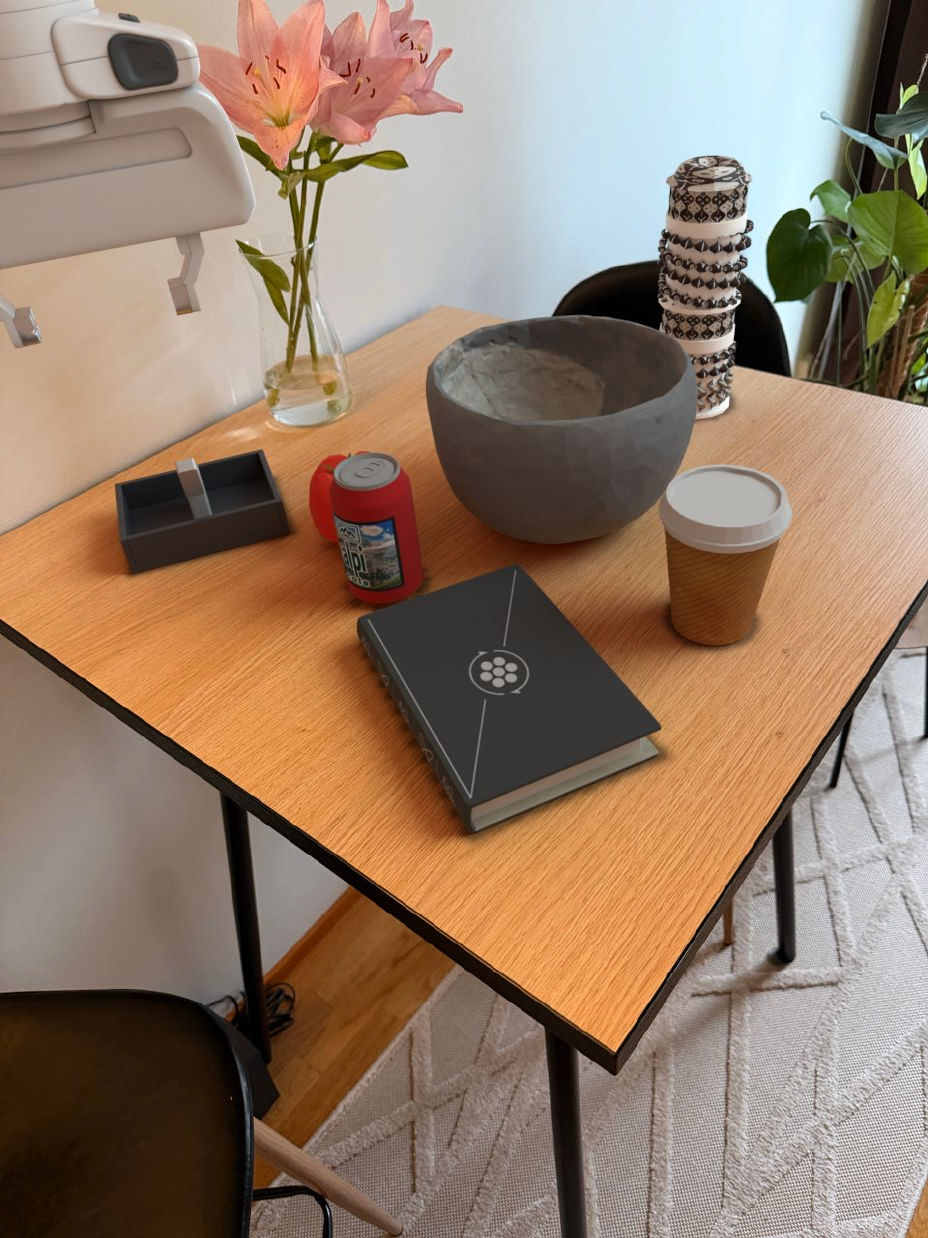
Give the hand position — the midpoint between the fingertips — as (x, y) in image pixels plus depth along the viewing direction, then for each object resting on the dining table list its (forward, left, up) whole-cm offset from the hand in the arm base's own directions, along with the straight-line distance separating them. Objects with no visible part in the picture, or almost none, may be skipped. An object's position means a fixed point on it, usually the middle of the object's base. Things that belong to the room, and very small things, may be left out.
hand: (110, 326), depth 55 cm
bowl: (+34, +11, -29) cm, 46 cm away
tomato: (+15, +15, -29) cm, 36 cm away
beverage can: (+15, +6, -29) cm, 33 cm away
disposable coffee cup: (+38, -10, -29) cm, 49 cm away
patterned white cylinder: (+56, +24, -29) cm, 68 cm away
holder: (+1, +24, -29) cm, 38 cm away
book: (+19, -11, -29) cm, 37 cm away
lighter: (+1, +24, -28) cm, 37 cm away
